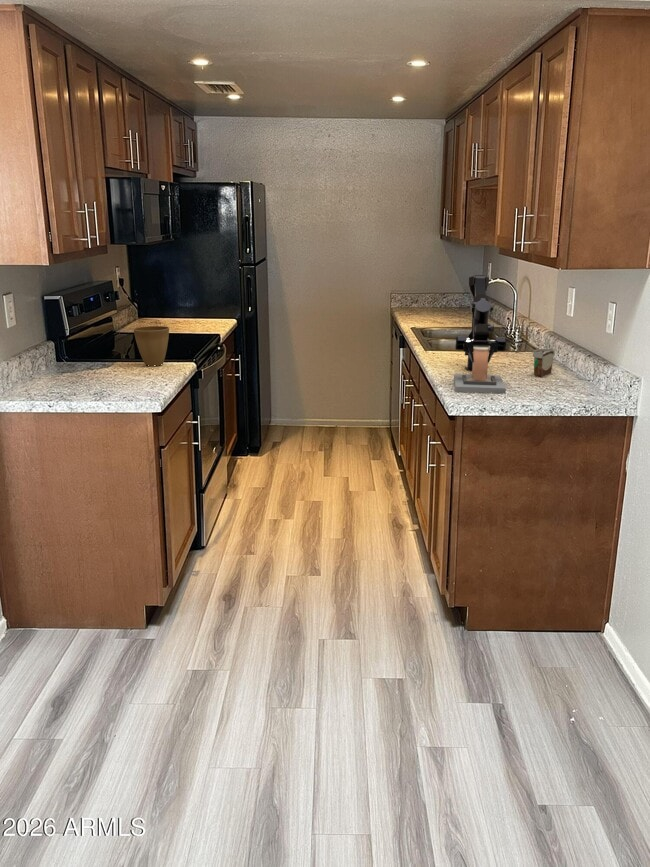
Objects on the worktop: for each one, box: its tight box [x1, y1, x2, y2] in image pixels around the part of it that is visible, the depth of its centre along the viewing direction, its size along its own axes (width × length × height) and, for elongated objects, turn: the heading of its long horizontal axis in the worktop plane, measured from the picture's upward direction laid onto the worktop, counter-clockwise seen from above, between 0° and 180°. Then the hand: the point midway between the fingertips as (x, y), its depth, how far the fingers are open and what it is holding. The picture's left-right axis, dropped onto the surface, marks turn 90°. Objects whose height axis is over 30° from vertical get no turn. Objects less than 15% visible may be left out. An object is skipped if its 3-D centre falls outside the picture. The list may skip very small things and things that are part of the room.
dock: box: [453, 373, 507, 394], centre depth 284 cm, size 24×18×3 cm
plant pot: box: [133, 325, 170, 367], centre depth 319 cm, size 15×15×16 cm
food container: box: [532, 348, 555, 378], centre depth 304 cm, size 12×6×10 cm, turn 141°
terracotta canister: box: [471, 346, 490, 380], centre depth 281 cm, size 6×6×12 cm
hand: (480, 361), depth 279 cm, fingers closed on terracotta canister, 5 cm apart
